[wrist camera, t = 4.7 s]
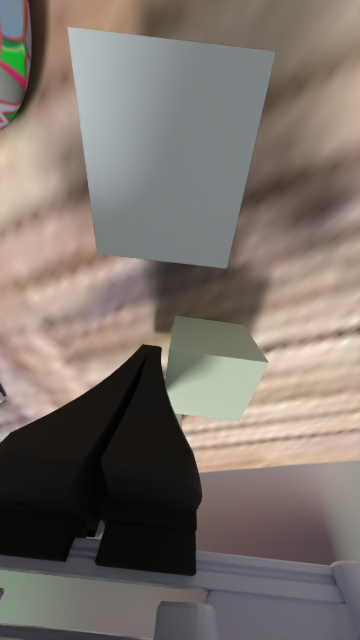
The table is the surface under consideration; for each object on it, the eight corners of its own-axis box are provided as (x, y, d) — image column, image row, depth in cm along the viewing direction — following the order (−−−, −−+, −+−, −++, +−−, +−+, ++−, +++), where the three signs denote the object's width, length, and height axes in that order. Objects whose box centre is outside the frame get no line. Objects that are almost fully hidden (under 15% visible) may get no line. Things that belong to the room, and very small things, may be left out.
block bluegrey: (131, 249, 10) (97, 254, 6) (126, 132, 7) (67, 27, 4) (212, 258, 10) (226, 268, 6) (232, 145, 7) (275, 51, 4)
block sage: (168, 366, 13) (162, 411, 10) (175, 315, 11) (169, 349, 8) (225, 374, 14) (239, 421, 10) (243, 324, 11) (268, 362, 8)
